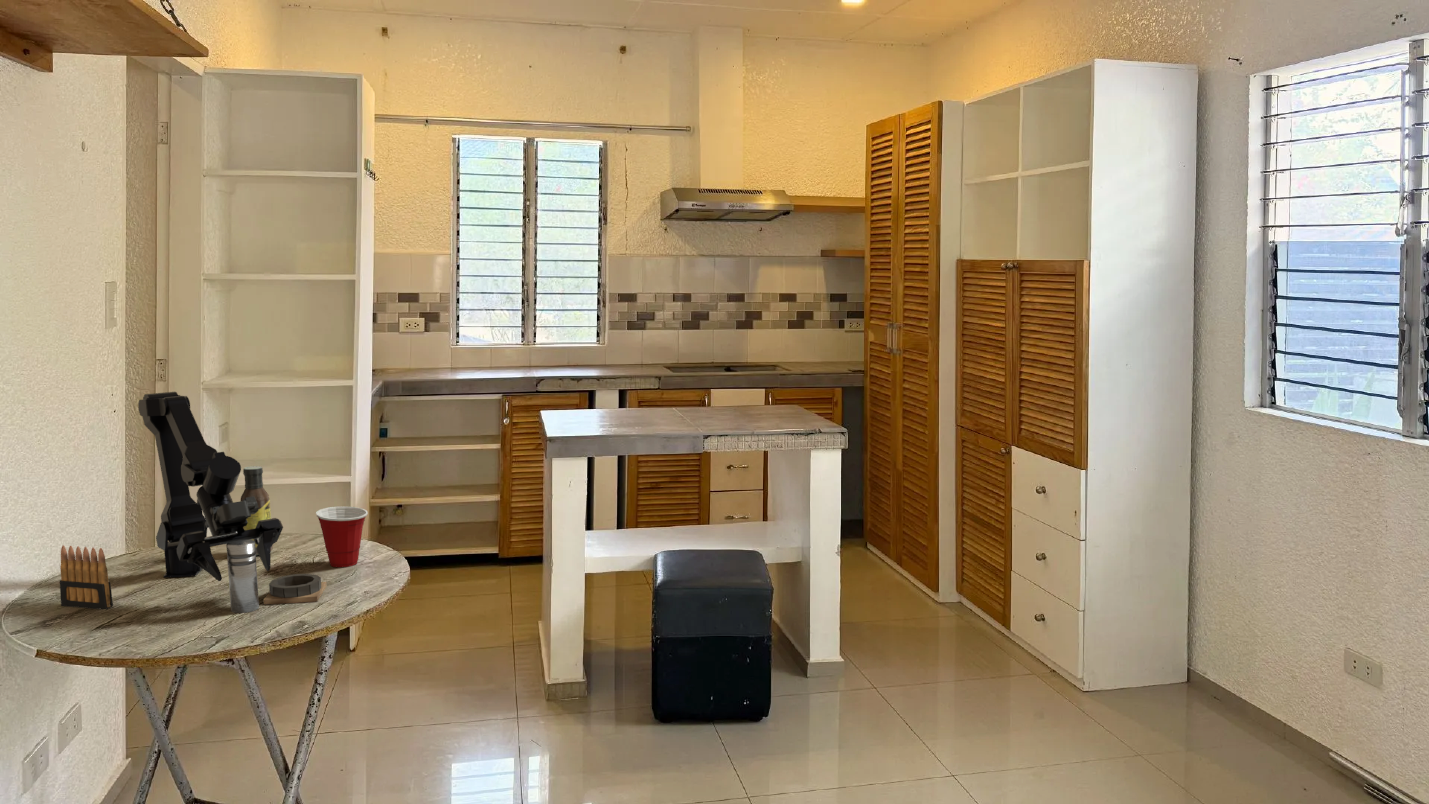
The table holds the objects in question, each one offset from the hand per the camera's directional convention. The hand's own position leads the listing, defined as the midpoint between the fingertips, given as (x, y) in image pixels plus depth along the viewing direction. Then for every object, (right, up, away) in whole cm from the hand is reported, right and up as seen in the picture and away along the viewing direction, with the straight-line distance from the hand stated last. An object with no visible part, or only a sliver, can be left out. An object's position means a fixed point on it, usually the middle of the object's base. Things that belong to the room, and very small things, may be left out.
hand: (245, 574), depth 211 cm
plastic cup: (+8, -3, +32) cm, 33 cm away
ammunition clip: (-33, -7, +4) cm, 34 cm away
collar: (+6, -6, +10) cm, 13 cm away
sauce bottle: (-14, -2, +41) cm, 44 cm away
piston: (-1, -7, +2) cm, 7 cm away
